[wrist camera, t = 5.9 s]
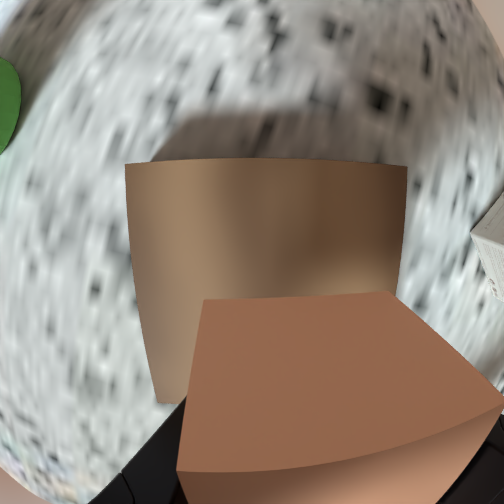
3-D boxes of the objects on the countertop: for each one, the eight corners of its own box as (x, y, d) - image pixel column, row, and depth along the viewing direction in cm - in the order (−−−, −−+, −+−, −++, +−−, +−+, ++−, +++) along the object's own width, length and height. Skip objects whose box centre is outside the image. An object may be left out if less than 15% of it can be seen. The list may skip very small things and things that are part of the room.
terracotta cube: (388, 290, 8) (507, 401, 3) (359, 417, 9) (410, 528, 4) (203, 299, 8) (176, 470, 3) (216, 432, 9) (215, 563, 4)
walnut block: (370, 165, 16) (407, 166, 12) (351, 352, 19) (374, 389, 15) (149, 164, 15) (125, 164, 11) (168, 361, 18) (157, 402, 14)
